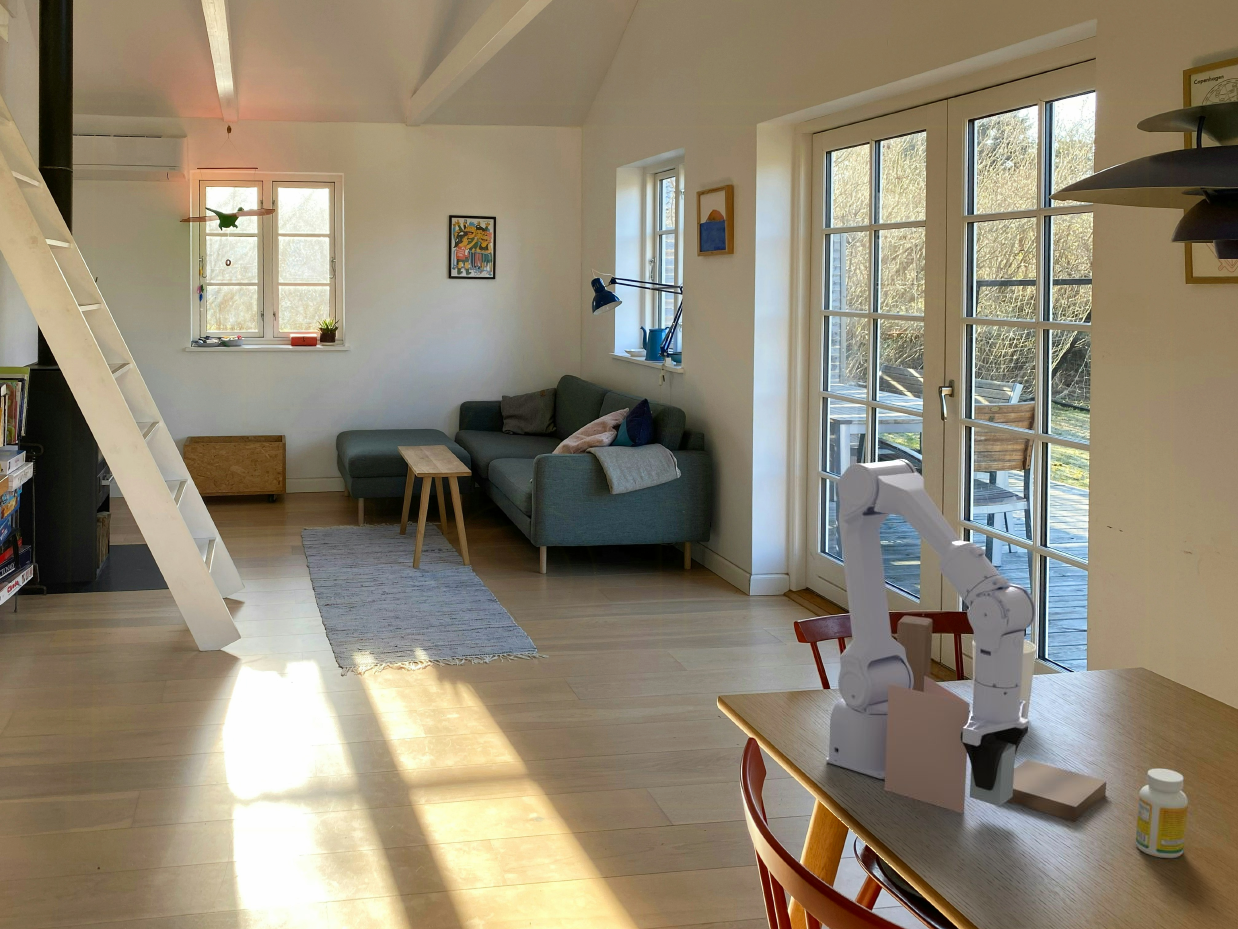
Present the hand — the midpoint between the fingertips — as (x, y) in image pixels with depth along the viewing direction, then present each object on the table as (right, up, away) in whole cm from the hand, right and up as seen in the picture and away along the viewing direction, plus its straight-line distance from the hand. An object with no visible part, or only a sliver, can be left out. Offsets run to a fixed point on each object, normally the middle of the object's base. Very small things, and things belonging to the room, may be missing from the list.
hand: (991, 782), depth 150 cm
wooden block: (-1, -1, +29) cm, 29 cm away
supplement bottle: (+18, -6, -7) cm, 21 cm away
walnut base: (+10, -4, +7) cm, 13 cm away
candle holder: (+14, 0, +38) cm, 40 cm away
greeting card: (-7, -4, +7) cm, 11 cm away
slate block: (0, -2, 0) cm, 2 cm away
